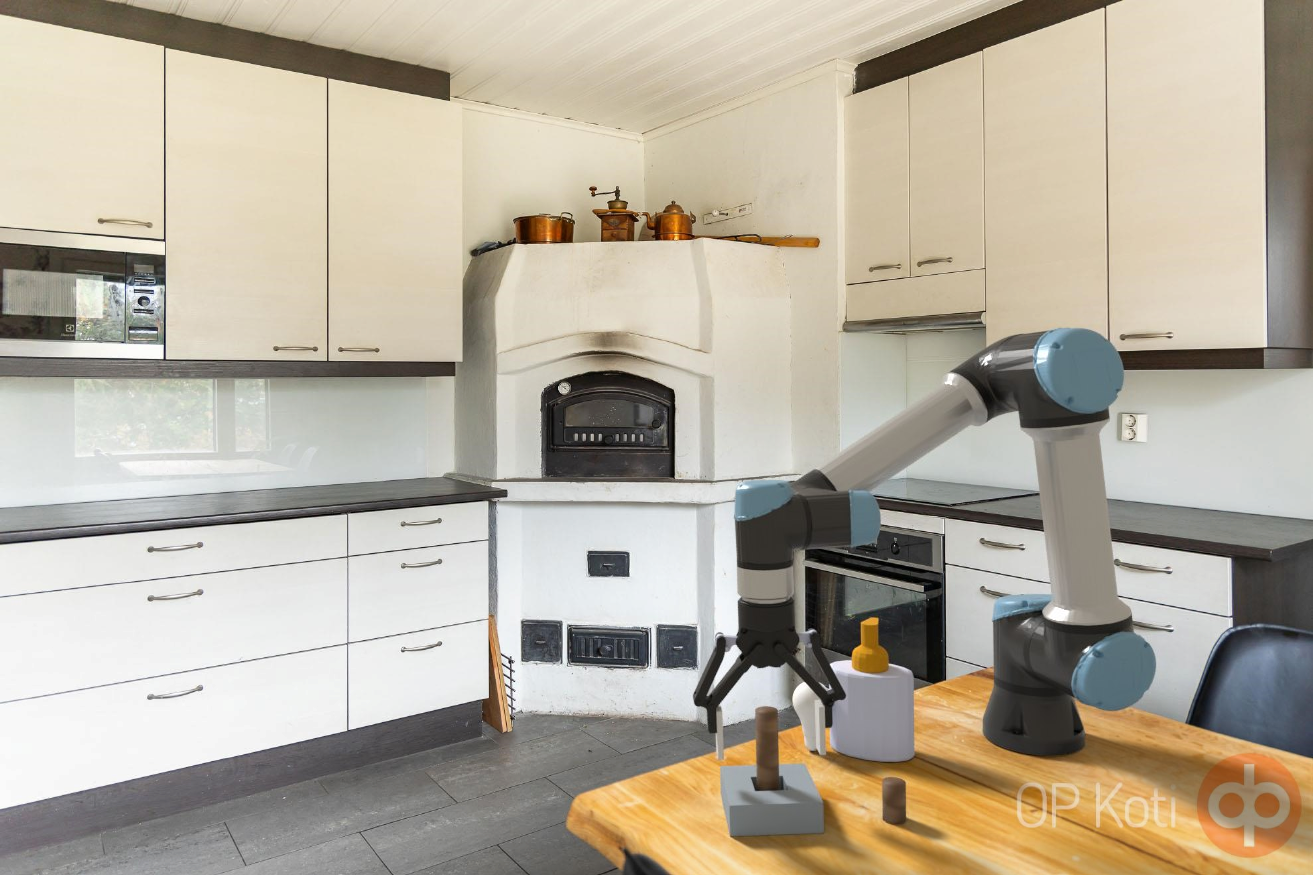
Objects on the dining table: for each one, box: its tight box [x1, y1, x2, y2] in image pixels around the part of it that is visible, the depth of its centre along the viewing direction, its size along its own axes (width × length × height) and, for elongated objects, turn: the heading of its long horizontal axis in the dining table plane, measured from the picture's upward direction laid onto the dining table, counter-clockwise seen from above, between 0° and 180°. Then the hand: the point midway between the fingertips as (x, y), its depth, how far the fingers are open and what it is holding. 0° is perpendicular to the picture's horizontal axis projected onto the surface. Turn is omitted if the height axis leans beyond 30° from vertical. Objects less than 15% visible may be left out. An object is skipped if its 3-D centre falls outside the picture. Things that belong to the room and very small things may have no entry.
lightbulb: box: [792, 681, 829, 752], centre depth 137 cm, size 6×6×11 cm
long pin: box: [754, 705, 780, 791], centre depth 117 cm, size 3×3×14 cm
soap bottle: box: [828, 617, 915, 763], centre depth 136 cm, size 13×8×20 cm, turn 63°
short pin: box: [881, 776, 907, 826], centre depth 114 cm, size 3×3×5 cm
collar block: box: [719, 762, 825, 837], centre depth 117 cm, size 12×12×4 cm
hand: (770, 753), depth 117 cm, fingers open, 13 cm apart
